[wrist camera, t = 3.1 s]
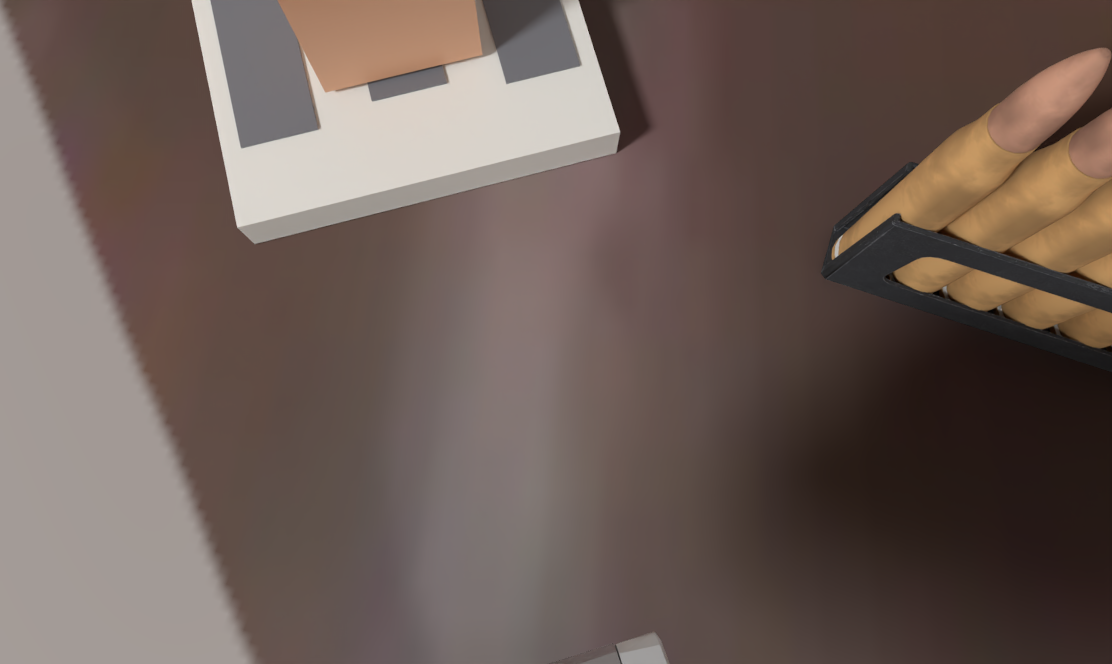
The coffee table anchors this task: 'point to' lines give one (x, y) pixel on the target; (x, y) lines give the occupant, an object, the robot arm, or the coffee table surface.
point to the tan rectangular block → (381, 36)
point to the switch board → (397, 115)
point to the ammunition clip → (1001, 222)
